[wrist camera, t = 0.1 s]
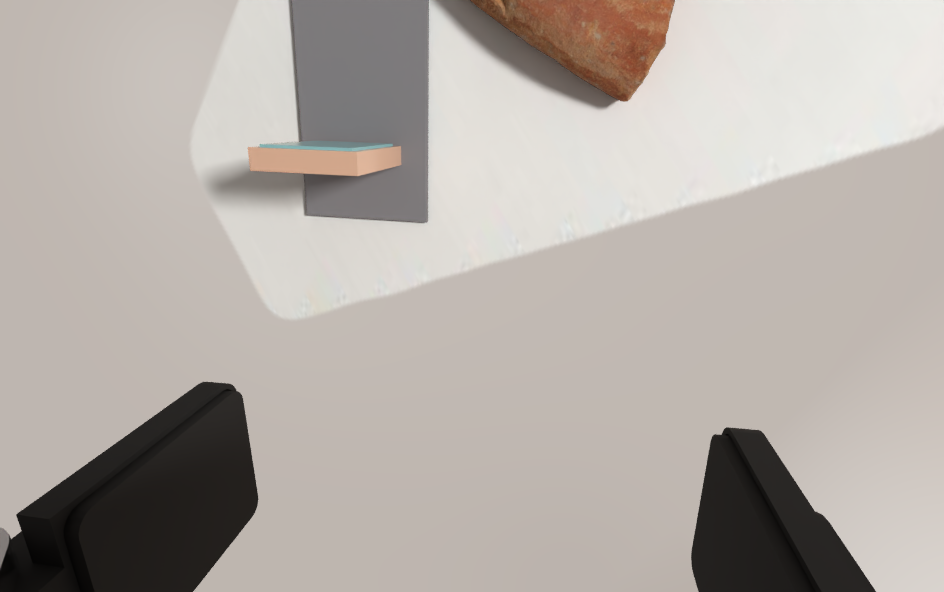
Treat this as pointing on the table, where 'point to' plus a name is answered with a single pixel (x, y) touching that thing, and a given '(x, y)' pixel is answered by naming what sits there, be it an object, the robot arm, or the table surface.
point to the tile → (324, 157)
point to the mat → (365, 100)
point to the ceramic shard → (591, 36)
